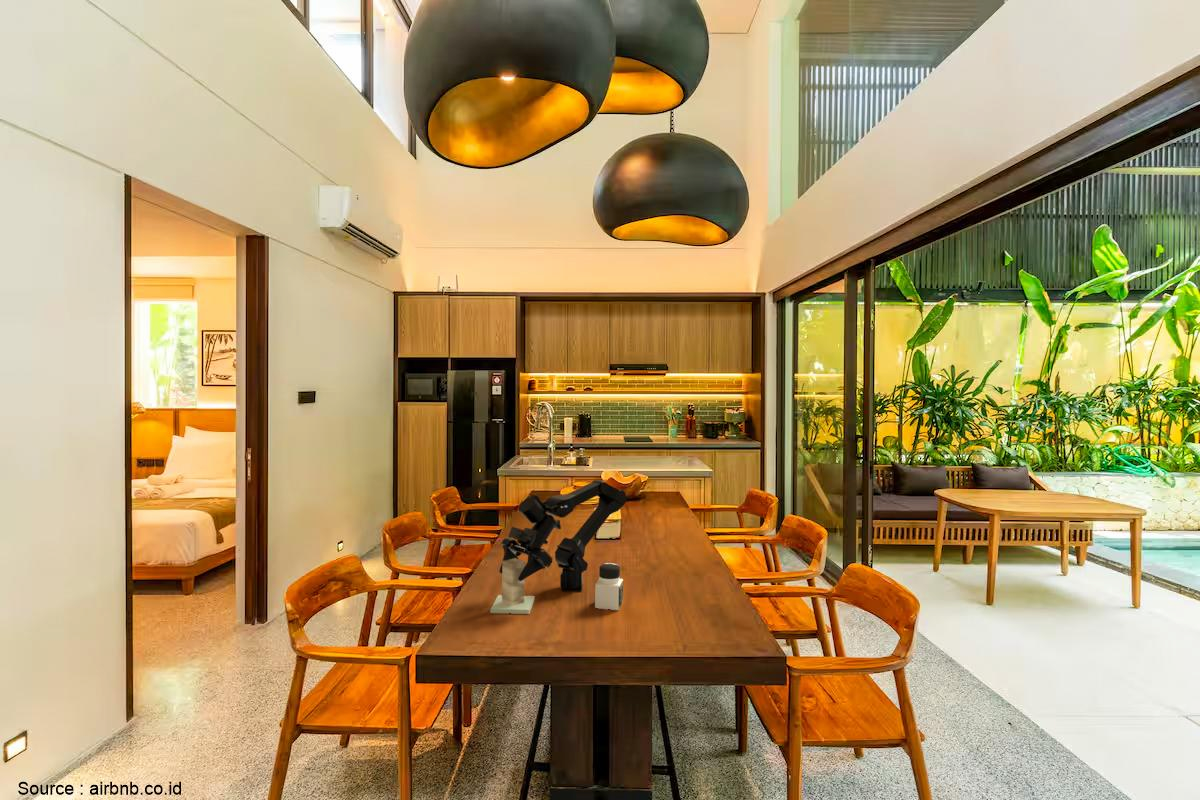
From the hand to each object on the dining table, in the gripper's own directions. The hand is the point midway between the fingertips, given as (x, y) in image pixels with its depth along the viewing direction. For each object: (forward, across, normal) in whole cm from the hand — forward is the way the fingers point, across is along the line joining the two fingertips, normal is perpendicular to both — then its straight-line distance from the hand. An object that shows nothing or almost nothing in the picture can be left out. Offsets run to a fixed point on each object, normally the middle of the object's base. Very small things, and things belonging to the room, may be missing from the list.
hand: (509, 576), depth 168 cm
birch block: (+5, 0, +6) cm, 8 cm away
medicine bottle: (-9, +18, +23) cm, 31 cm away
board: (+5, 0, +7) cm, 9 cm away
